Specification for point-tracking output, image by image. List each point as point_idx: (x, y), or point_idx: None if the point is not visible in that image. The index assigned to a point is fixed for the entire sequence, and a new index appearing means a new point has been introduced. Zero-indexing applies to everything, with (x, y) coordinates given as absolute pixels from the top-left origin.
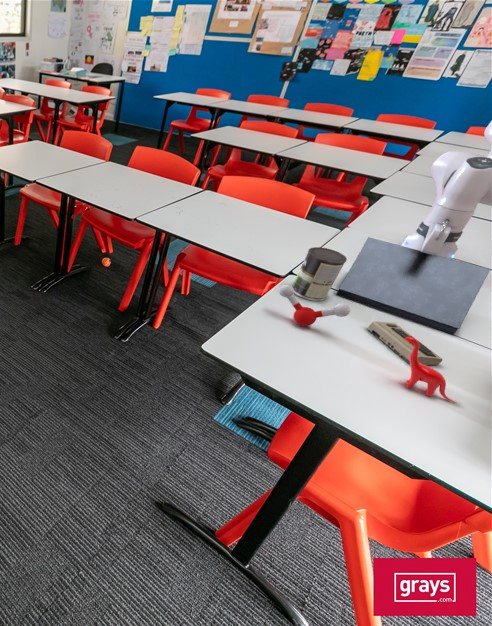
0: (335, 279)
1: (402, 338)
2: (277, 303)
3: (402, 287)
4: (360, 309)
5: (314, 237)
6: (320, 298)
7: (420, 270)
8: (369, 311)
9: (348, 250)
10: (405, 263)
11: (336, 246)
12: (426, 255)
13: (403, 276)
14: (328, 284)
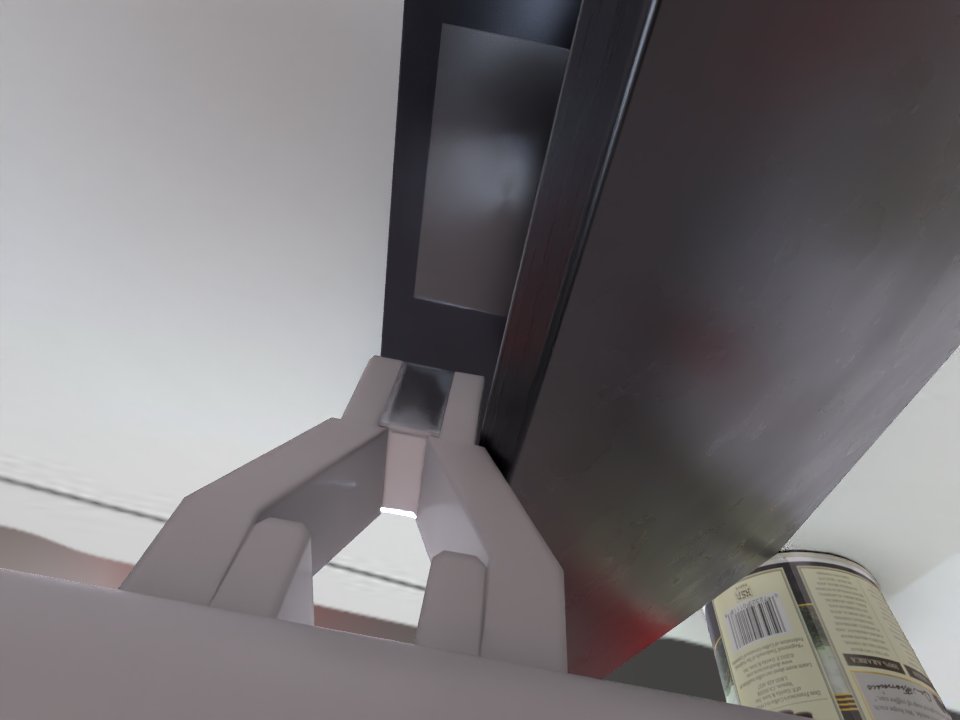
0: (901, 691)
1: None
2: (954, 682)
3: (890, 364)
4: (918, 430)
5: (30, 524)
6: (878, 590)
7: (791, 365)
8: (935, 390)
9: (16, 406)
10: (674, 513)
11: (30, 453)
12: (567, 471)
13: (805, 427)
14: (933, 687)
